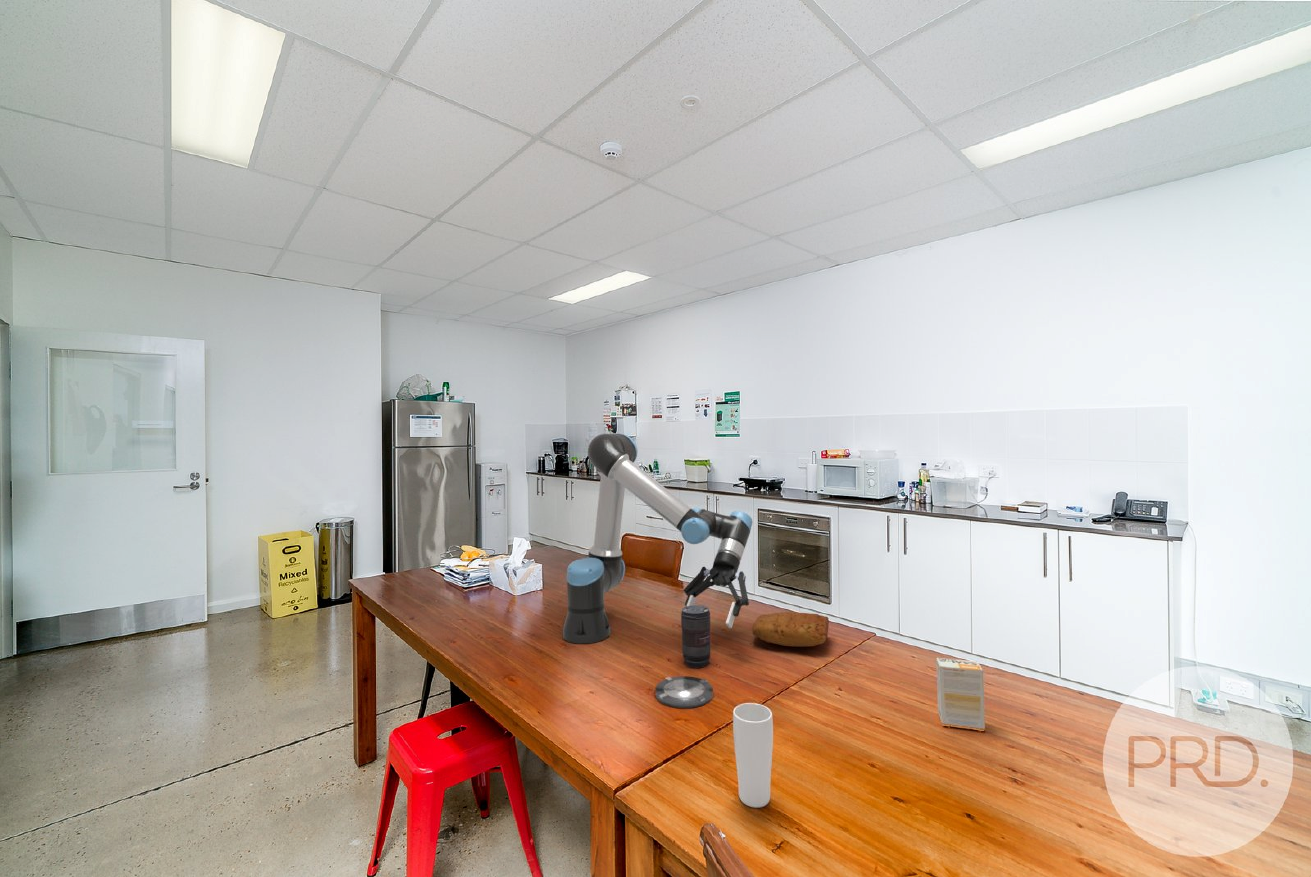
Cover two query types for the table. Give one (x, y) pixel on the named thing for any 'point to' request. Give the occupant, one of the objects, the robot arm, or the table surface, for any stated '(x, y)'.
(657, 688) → the mount plate
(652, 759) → the table surface
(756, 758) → the drinking glass
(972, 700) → the supplement box
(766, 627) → the bread loaf
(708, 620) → the camera lens
